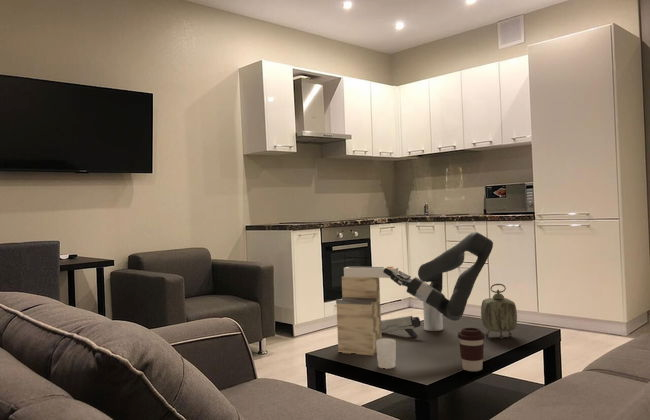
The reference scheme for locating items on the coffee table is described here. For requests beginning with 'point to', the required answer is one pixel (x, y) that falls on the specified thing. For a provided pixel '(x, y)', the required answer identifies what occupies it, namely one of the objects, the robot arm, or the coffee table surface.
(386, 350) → the white cup
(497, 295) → the tabletop clock
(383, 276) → the power strip
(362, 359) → the coffee table surface
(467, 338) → the coffee cup
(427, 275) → the robot arm
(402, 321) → the gun
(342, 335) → the step shelf
